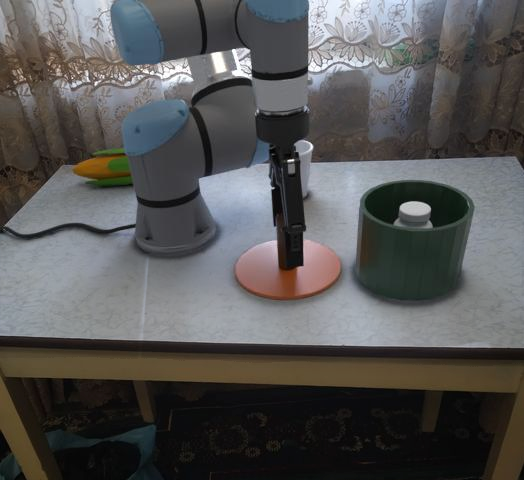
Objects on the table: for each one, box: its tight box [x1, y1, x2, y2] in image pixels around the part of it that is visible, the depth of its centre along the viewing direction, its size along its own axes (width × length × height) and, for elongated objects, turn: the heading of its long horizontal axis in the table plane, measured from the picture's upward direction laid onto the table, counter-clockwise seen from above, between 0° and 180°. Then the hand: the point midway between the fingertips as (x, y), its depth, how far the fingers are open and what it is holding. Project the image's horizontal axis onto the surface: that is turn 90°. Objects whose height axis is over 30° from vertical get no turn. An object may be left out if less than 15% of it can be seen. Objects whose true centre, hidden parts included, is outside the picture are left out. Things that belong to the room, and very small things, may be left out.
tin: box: [354, 179, 476, 302], centre depth 83 cm, size 17×17×12 cm
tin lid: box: [234, 213, 342, 301], centre depth 86 cm, size 18×18×10 cm
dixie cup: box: [294, 139, 314, 199], centre depth 108 cm, size 8×8×10 cm
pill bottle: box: [393, 202, 433, 228], centre depth 83 cm, size 6×6×11 cm
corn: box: [71, 147, 133, 187], centre depth 120 cm, size 7×8×20 cm
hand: (287, 244), depth 86 cm, fingers open, 13 cm apart
